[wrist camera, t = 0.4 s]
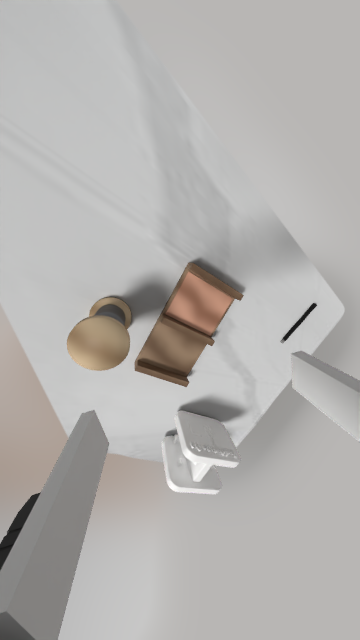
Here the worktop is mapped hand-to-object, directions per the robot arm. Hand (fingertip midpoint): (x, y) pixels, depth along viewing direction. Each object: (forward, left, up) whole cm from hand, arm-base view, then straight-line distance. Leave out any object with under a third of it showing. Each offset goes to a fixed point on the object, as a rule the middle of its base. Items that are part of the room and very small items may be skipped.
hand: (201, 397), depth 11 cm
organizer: (+26, +23, -25) cm, 42 cm away
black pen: (-11, +33, -25) cm, 43 cm away
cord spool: (+6, -7, -24) cm, 26 cm away
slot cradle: (+2, +7, -24) cm, 25 cm away
